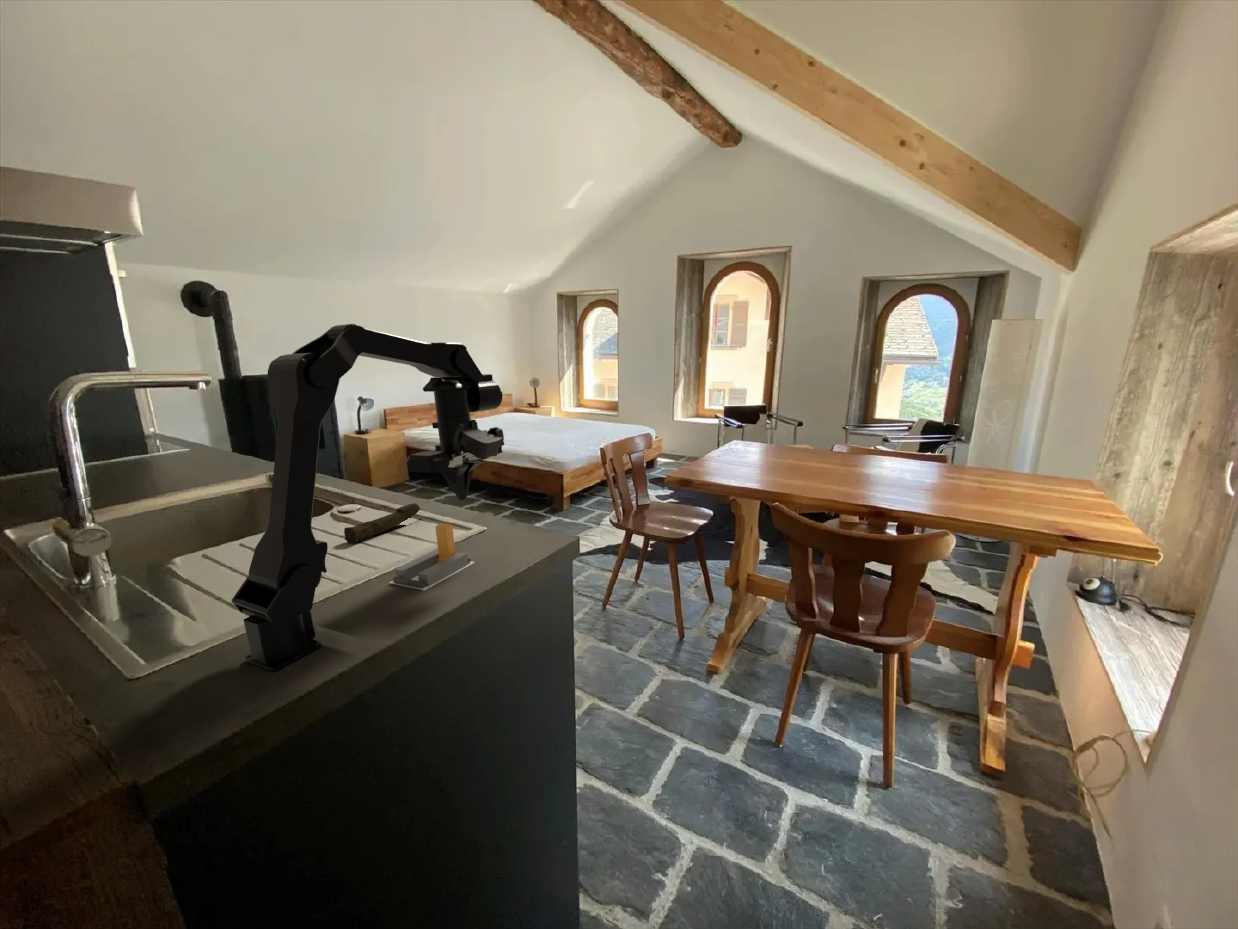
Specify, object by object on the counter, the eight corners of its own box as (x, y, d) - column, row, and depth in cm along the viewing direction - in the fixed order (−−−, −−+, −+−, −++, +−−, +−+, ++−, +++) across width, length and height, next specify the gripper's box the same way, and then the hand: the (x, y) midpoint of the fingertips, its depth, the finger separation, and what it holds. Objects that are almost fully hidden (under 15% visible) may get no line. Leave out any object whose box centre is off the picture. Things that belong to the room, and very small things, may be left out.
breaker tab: (448, 566, 90) (444, 528, 89) (438, 564, 91) (433, 527, 90) (457, 561, 93) (453, 524, 91) (447, 559, 94) (443, 522, 92)
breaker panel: (425, 598, 82) (423, 578, 82) (390, 591, 86) (387, 571, 85) (475, 569, 93) (473, 551, 92) (442, 564, 96) (440, 546, 96)
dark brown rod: (355, 546, 108) (351, 526, 107) (344, 543, 111) (341, 523, 110) (429, 521, 124) (427, 502, 123) (419, 519, 126) (416, 500, 125)
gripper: (450, 423, 80) (461, 519, 83) (521, 409, 96) (528, 490, 99) (399, 422, 84) (411, 512, 88) (474, 409, 101) (482, 486, 104)
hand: (462, 499), depth 95 cm, fingers closed
